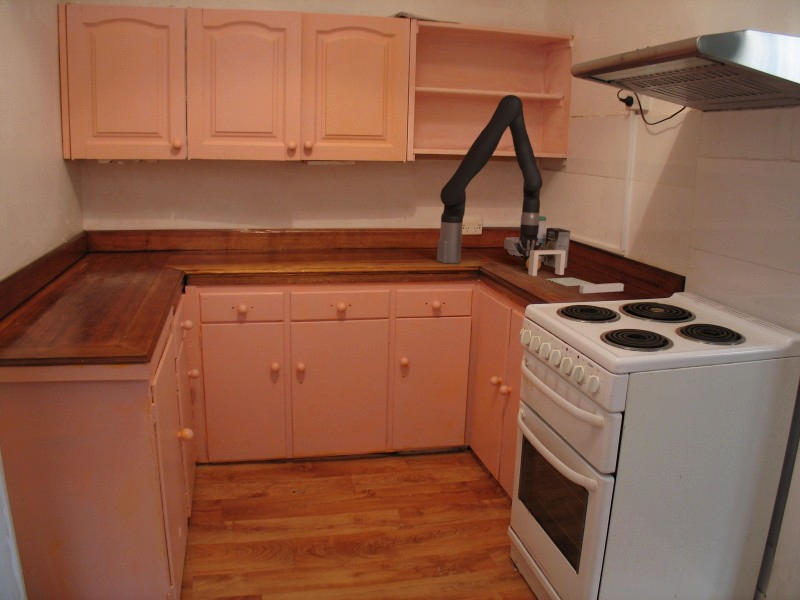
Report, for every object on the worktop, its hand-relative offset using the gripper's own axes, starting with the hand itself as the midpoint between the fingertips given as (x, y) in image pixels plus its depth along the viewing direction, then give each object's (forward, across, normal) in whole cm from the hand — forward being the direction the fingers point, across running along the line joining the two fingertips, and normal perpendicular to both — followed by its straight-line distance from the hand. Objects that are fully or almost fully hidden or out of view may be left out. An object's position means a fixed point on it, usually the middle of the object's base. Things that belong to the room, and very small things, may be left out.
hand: (526, 264), depth 281 cm
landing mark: (+2, +1, +29) cm, 29 cm away
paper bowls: (+2, -19, -33) cm, 38 cm away
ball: (-1, +1, +6) cm, 6 cm away
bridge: (+2, 0, +14) cm, 14 cm away
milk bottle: (+2, -17, -16) cm, 23 cm away
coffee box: (+2, -17, -3) cm, 17 cm away
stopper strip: (+2, +1, +47) cm, 47 cm away
